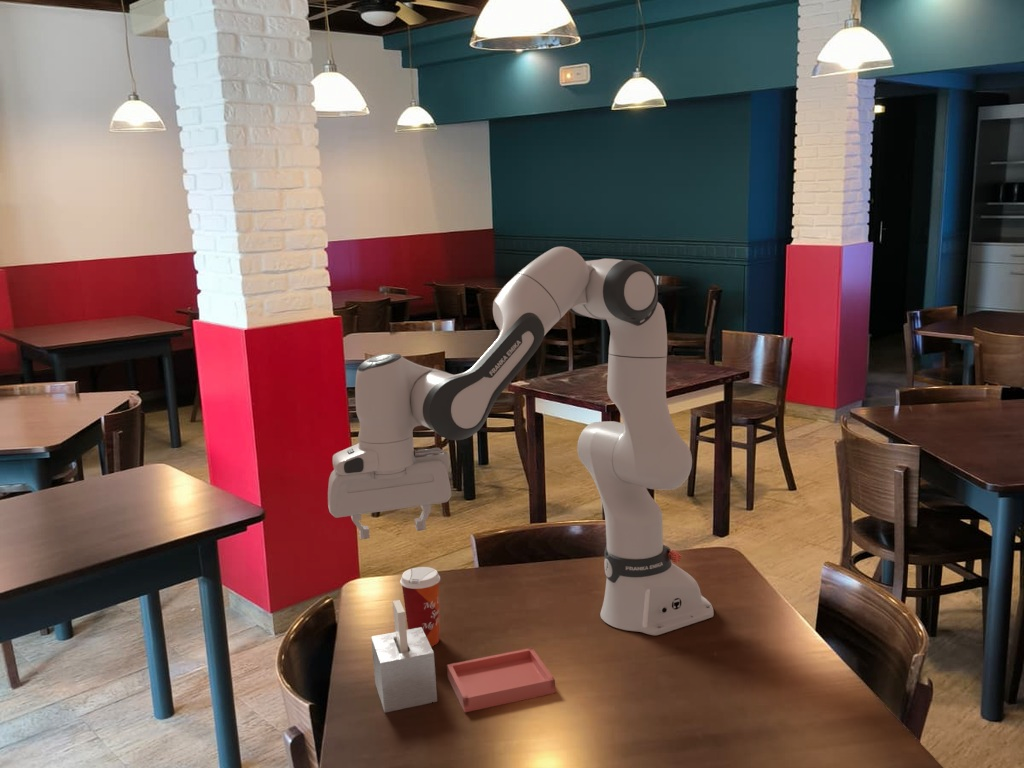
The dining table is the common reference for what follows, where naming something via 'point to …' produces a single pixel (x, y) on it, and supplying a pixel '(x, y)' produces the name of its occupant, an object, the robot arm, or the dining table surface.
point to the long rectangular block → (400, 627)
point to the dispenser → (404, 671)
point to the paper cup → (422, 601)
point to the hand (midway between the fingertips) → (393, 533)
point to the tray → (500, 679)
